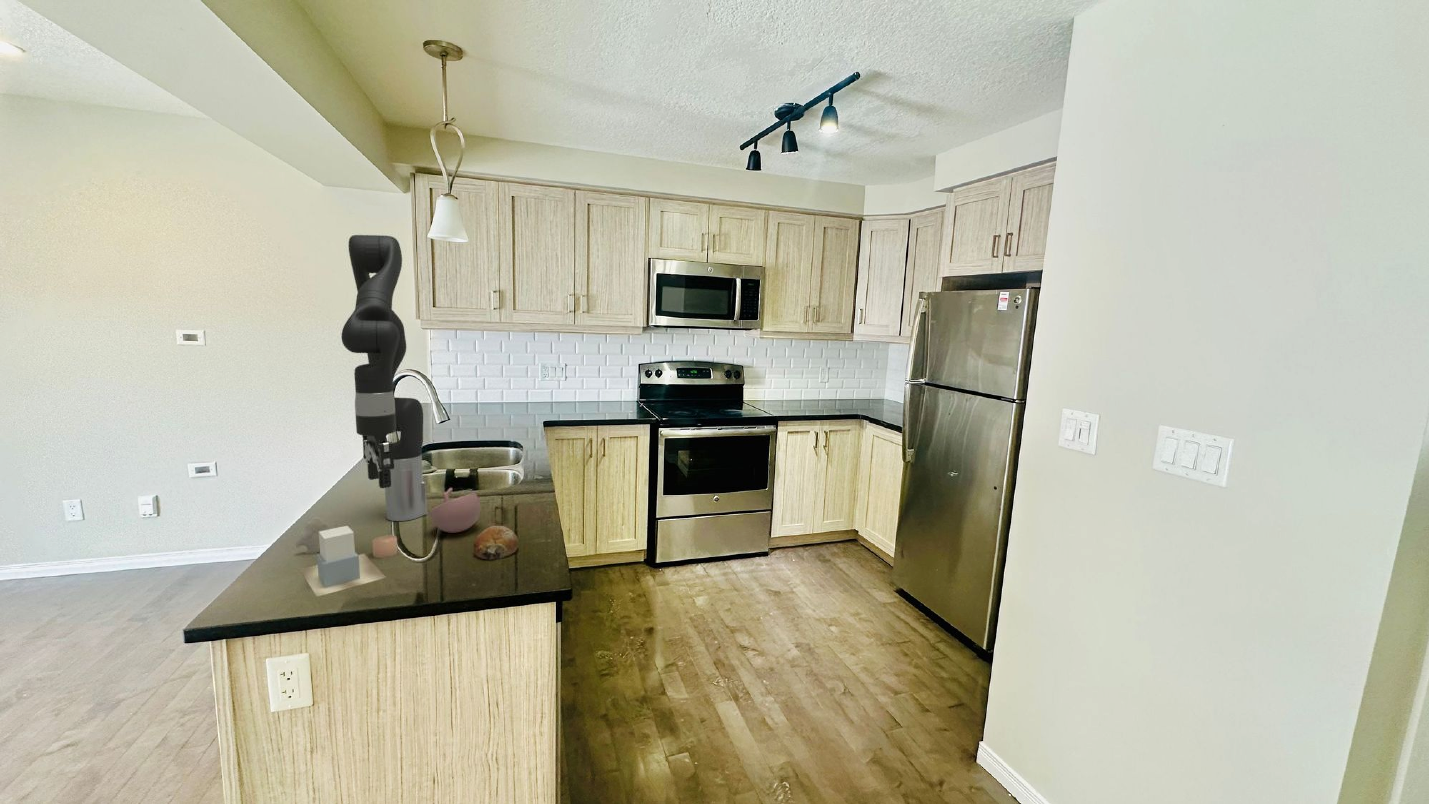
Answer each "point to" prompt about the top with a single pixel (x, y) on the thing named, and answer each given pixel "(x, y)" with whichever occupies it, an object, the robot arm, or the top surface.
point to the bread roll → (495, 543)
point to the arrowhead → (311, 535)
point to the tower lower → (338, 570)
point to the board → (366, 575)
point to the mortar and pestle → (456, 513)
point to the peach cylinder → (384, 546)
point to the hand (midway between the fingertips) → (379, 483)
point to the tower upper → (336, 543)
